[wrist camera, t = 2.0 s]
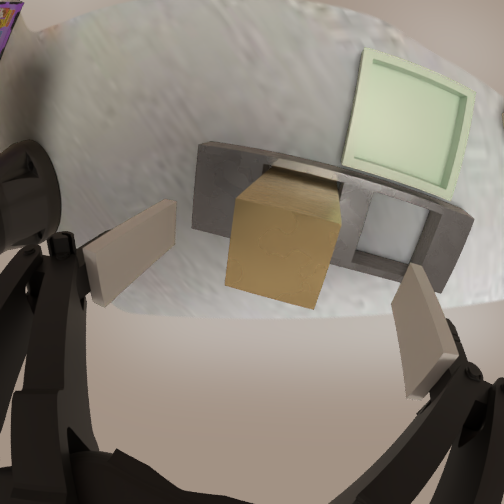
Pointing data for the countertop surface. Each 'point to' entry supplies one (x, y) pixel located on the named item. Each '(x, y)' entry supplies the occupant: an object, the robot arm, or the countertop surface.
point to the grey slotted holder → (351, 207)
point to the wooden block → (284, 236)
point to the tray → (408, 124)
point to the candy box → (8, 19)
